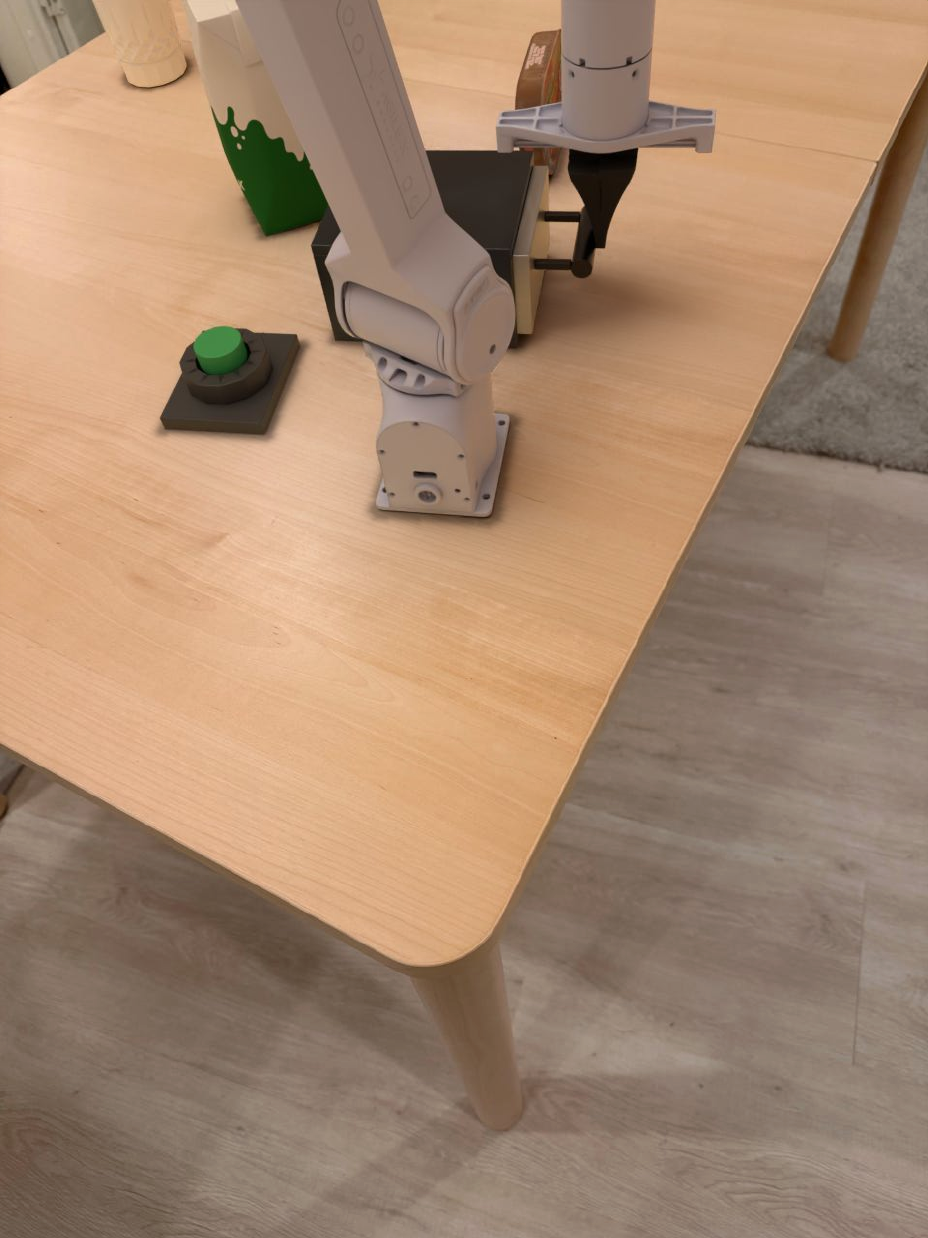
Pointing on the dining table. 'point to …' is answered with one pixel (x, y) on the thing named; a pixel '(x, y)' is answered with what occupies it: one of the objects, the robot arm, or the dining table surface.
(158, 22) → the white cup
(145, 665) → the dining table surface
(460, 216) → the cabinet
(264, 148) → the milk carton
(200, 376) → the button box
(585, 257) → the drawer
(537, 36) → the tin
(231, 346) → the button
